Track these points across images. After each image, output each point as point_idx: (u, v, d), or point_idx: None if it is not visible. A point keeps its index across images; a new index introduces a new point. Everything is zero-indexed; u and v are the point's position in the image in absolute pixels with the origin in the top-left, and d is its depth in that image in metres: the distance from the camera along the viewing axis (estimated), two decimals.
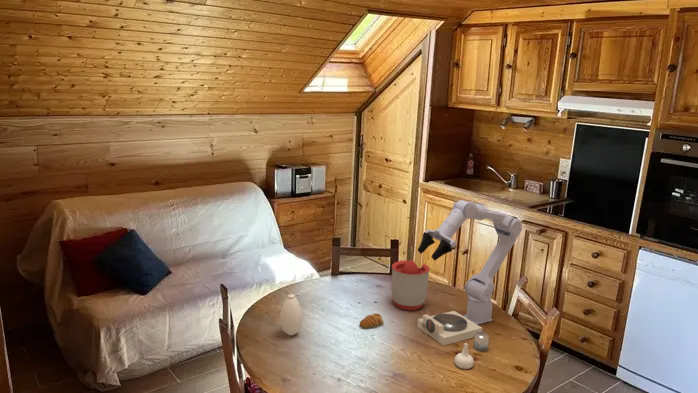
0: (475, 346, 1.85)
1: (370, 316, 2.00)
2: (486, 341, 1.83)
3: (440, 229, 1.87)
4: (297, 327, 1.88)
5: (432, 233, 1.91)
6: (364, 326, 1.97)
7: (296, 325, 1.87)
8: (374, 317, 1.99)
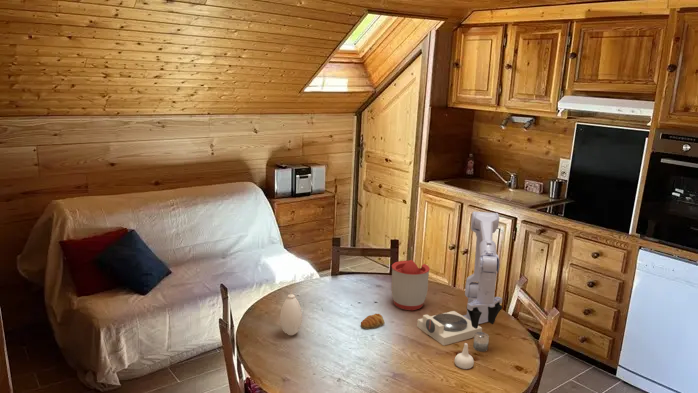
0: (475, 346, 1.85)
1: (371, 316, 2.00)
2: (486, 341, 1.83)
3: (491, 301, 1.79)
4: (297, 327, 1.88)
5: None
6: (365, 326, 1.96)
7: (296, 325, 1.87)
8: (375, 317, 1.99)
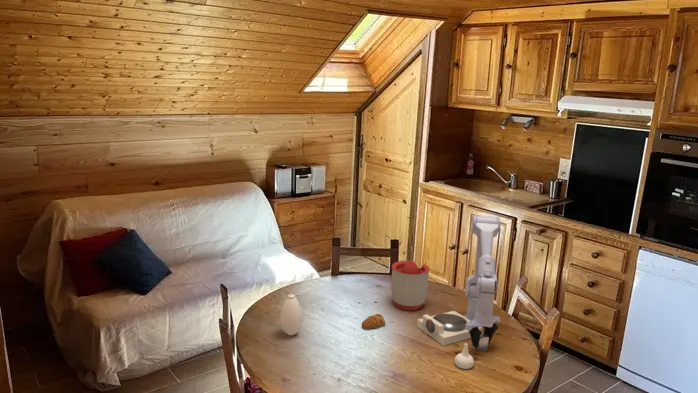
0: None
1: (372, 317, 2.00)
2: (486, 341, 1.83)
3: (489, 321, 1.81)
4: (297, 327, 1.88)
5: None
6: (366, 327, 1.96)
7: (296, 325, 1.87)
8: (376, 318, 1.99)
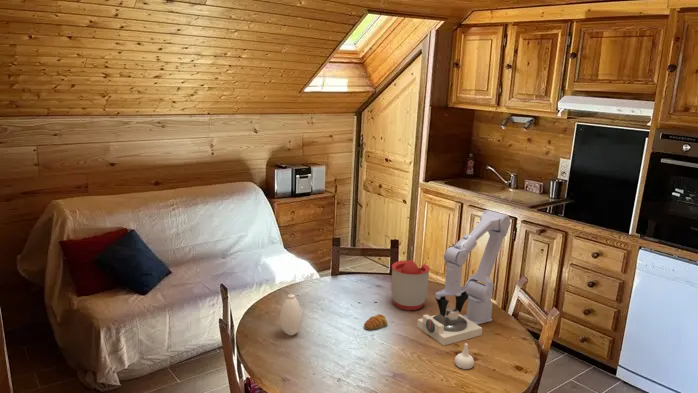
0: (446, 320, 1.95)
1: (374, 317, 1.99)
2: (456, 315, 1.94)
3: (457, 290, 1.92)
4: (297, 327, 1.88)
5: None
6: (369, 328, 1.95)
7: (296, 325, 1.87)
8: (378, 318, 1.99)
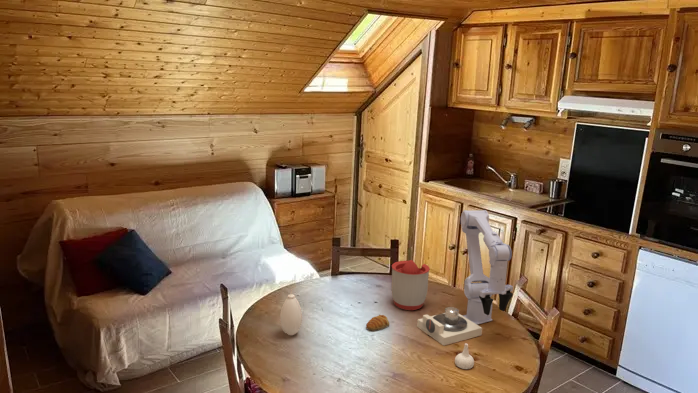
0: (446, 320, 1.95)
1: (376, 318, 1.99)
2: (456, 315, 1.94)
3: (502, 288, 1.87)
4: (297, 327, 1.88)
5: None
6: (371, 328, 1.95)
7: (296, 325, 1.87)
8: (380, 319, 1.98)
